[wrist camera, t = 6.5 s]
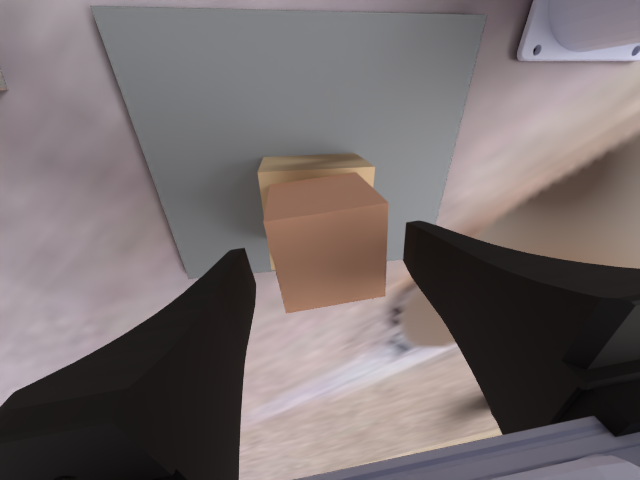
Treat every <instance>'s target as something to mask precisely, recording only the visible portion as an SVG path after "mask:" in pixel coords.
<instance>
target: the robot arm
mask: <svg viewBox="0 0 640 480" xmlns="http://www.w3.org/2000/svg"><path fill="white" fill-rule="evenodd" d="M534 48H536V50H535V53H534V54H533V50H534ZM517 58H518V60H519V61H640V0H533V3H532V6H531V9H530V12H529V16H528V19H527V22H526V25H525V28H524V32H523V35H522V38H521V41H520V45H519V48H518V51H517ZM403 261H404V263H405V265H406V267H407V269H408V271H409V273H410V275H411V277H412V278H413V280H414V281H415V282H416V284H417V285H418V287H419V288H420V289H421V291H422V292H423V293H424V295H425V296H426V298H427V299H428V300H429V301H430V303H431V304H432V306H433V307H434V308H435V310H436V311H437V313H438V314H439V315H440V316H441V318H442V320H443V321H444V323H445V324H446V326H447V327H448V329H449V331H450V333H451V334H452V336H453V338H454V339H455V341H456V343H457V345H458V346H459V348H460V350H461V352H462V354H463V355H464V357H465V359H466V361H467V363H468V365H469V367H470V368H471V370H472V372H473V374H474V376H475V378H476V380H477V382H478V384H479V386H480V388H481V390H482V392H483V394H484V396H485V398H486V400H487V402H488V404H489V406H490V408H491V411H492V413H493V415H494V417H495V419H496V421H497V423H498V426H499V428H500V430H501V432H502V434H503V435H501V436H496V437H492V438H487V439H482V440H477V441H473V442H468V443H463V444H459V445H454V446H449V447H445V448H440V449H435V450H430V451H426V452H421V453H416V454H412V455H407V456H402V457H398V458H393V459H388V460H384V461H379V462H374V463H369V464H365V465H360V466H355V467H351V468H346V469H341V470H337V471H332V472H327V473H323V474H318V475H313V476H308V477H304V478H299V479H294V480H640V269H636V268H622V267H614V266H605V265H597V264H589V263H582V262H575V261H568V260H562V259H556V258H550V257H545V256H540V255H535V254H529V253H525V252H521V251H516V250H513V249H509V248H504V247H501V246H497V245H493V244H490V243H487V242H483V241H480V240H477V239H474V238H471V237H468V236H465V235H462V234H459V233H456V232H454V231H451V230H448V229H445V228H442V227H440V226H437V225H434V224H431V223H428V222H424V221H420V220H418V221H412V222H406V229H405V241H404V253H403ZM255 298H256V282H255V279H254V276H253V273H252V270H251V266H250V263H249V260H248V257H247V254H246V250H245V248H239V249H232V250H230V251H228V252H227V253H226V254H225V255H224V256H223V257H222V258H221V259H220V260H219V261H218V262H217V263H216V264H215V265H213V266H212V267H211V268H210V269H209V270H208V271H207V272H206V273H205V274H204V275H203V276H202V277H201V278H200V279H199V280H197V281H196V282H195V283H194V284H193V285H192V286H191V287H189V288H188V289H187V290H186V291H185V292H184V293H183V294H181V295H180V296H179V297H178V298H176V299H175V300H174V301H172V302H171V303H170V304H169V305H167V306H166V307H164V308H163V309H162V310H160V311H159V312H158V313H156V314H155V315H153V316H152V317H150V318H149V319H147V320H146V321H144V322H143V323H141V324H139V325H138V326H136V327H135V328H133V329H132V330H130V331H129V332H127V333H126V334H124V335H122V336H121V337H119V338H117V339H116V340H114V341H112V342H110V343H109V344H107V345H105V346H103V347H102V348H100V349H98V350H96V351H94V352H93V353H91V354H89V355H87V356H85V357H84V358H82V359H80V360H78V361H76V362H74V363H72V364H70V365H68V366H66V367H64V368H62V369H60V370H58V371H56V372H54V373H52V374H50V375H48V376H46V377H44V378H42V379H40V380H38V381H36V382H34V383H32V384H30V385H28V386H26V387H24V388H22V389H19V390H17V391H15V392H14V393H13V394H12V395H11V396H10V397H9V398H8V399H7V400H6V401H5V402H4V403H3V405H2V406H1V407H0V480H239V446H240V423H241V405H242V390H243V377H244V365H245V357H246V350H247V345H248V340H249V335H250V330H251V324H252V319H253V314H254V308H255Z"/></svg>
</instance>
